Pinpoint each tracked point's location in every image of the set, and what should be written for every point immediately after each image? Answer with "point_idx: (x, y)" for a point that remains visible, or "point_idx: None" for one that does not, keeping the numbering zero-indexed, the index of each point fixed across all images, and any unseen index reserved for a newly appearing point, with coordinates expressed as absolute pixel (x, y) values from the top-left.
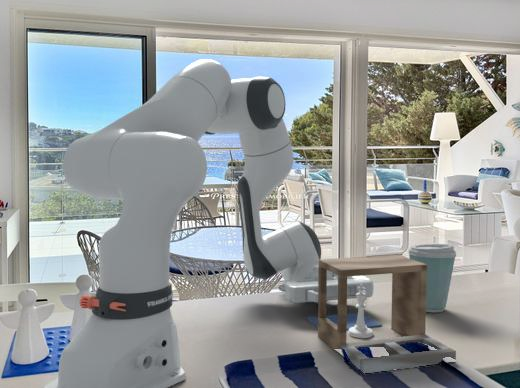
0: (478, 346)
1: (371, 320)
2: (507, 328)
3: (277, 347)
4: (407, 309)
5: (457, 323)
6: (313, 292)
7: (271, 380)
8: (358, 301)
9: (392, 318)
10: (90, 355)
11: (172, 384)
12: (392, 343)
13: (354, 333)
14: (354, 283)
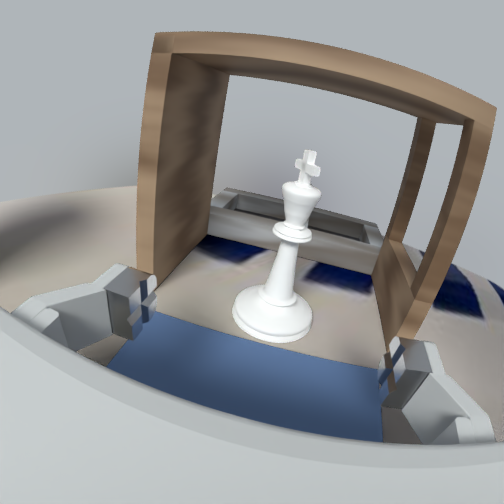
0: (133, 202)
1: (135, 349)
2: (19, 202)
3: (489, 343)
4: (194, 184)
5: (19, 235)
6: (461, 392)
7: (479, 278)
8: (308, 216)
9: (155, 258)
10: None
11: None
12: None
13: (307, 303)
14: (27, 327)
